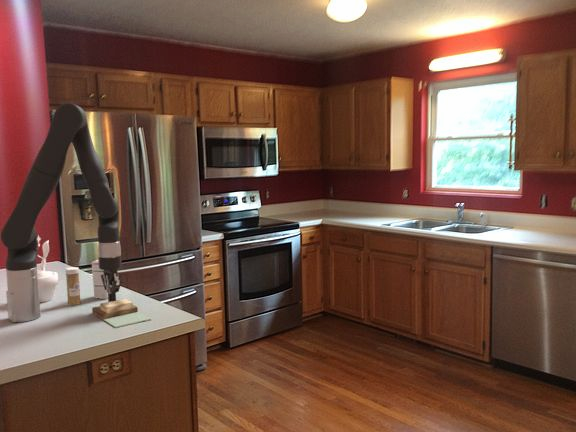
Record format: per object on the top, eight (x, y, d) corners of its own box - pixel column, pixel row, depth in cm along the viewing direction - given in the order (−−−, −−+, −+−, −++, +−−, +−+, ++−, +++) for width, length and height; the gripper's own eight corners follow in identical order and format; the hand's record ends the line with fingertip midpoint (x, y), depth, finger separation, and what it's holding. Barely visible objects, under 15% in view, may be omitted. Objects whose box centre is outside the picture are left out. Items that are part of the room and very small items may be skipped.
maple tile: (107, 313, 175) (106, 307, 175) (100, 309, 180) (100, 303, 180) (132, 307, 181) (132, 302, 181) (125, 304, 186) (125, 298, 185)
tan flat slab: (103, 320, 175) (102, 314, 174) (92, 313, 182) (92, 307, 182) (137, 312, 182) (137, 307, 182) (126, 306, 190) (125, 301, 190)
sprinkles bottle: (75, 306, 191) (72, 269, 189) (64, 305, 192) (62, 269, 191) (83, 302, 195) (81, 267, 194) (73, 301, 197) (71, 266, 195)
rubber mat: (115, 327, 167) (115, 326, 166) (103, 320, 174) (103, 319, 174) (151, 319, 174) (150, 318, 174) (138, 313, 182) (138, 311, 182)
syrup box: (107, 299, 200) (105, 261, 198) (93, 298, 201) (91, 261, 199) (115, 295, 205) (113, 258, 203) (101, 294, 206) (99, 258, 205)
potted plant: (52, 294, 207) (48, 231, 204) (64, 300, 199) (60, 234, 196) (18, 301, 198) (13, 235, 195) (29, 307, 190) (23, 238, 187)
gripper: (91, 253, 184) (94, 301, 186) (106, 258, 174) (109, 309, 176) (112, 250, 189) (115, 297, 191) (128, 255, 179) (130, 305, 181)
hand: (112, 303), depth 184 cm, fingers closed
